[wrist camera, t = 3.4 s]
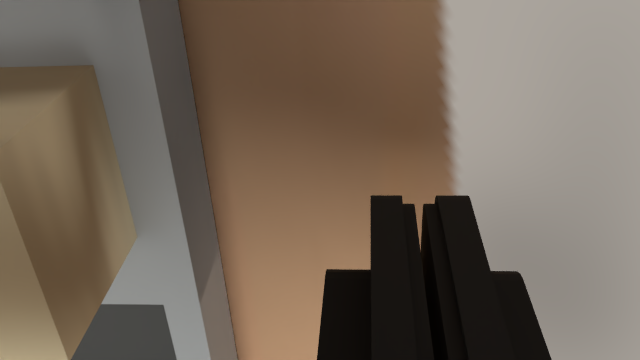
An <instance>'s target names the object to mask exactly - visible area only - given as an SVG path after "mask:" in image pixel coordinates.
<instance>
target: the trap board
mask: <svg viewBox="0 0 640 360" xmlns="http://www.w3.org/2000/svg"><path fill="white" fill-rule="evenodd" d="M80 65H94V69H95V73H96V77H97V81H98V85H99V89H100V92H101V96H102V100H103V104H104V108H105V112H106V116H107V120H108V124H109V128H110V132H111V136H112V140H113V144H114V148H115V151H116V155H117V159H118V163H119V167H120V171H121V175H122V179H123V183H124V187H125V191H126V195H127V199H128V203H129V207H130V210H131V214H132V218H133V222H134V226H135V230H136V234H137V239H136V241H135V243H134V244H133V246H132V248H131V250H130V252H129V254H128V255H127V257H126V259H125V261H124V263H123V265H122V266H121V268H120V270H119V272H118V274H117V276H116V277H115V279H114V281H113V283H112V285H111V287H110V288H109V290H108V292H107V294H106V296H105V298H104V300H103V301H102V303H101V305H100V307H99V309H98V311H97V312H96V314H95V316H94V318H93V320H92V322H91V323H90V325H89V327H88V329H87V331H86V333H85V334H84V336H83V338H82V340H81V342H80V344H79V345H78V347H77V349H76V351H75V353H74V355H73V356H72V358H71V360H238V358H237V352H236V346H235V340H234V334H233V328H232V322H231V316H230V310H229V304H228V298H227V292H226V286H225V280H224V274H223V268H222V262H221V256H220V250H219V244H218V238H217V232H216V226H215V220H214V214H213V208H212V202H211V196H210V190H209V184H208V178H207V172H206V166H205V160H204V154H203V148H202V142H201V136H200V130H199V124H198V118H197V112H196V106H195V100H194V94H193V88H192V82H191V76H190V70H189V64H188V58H187V52H186V46H185V40H184V34H183V28H182V23H181V17H180V11H179V5H178V0H0V67H36V66H80Z"/></svg>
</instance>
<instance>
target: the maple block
mask: <svg viewBox="0 0 640 360" xmlns="http://www.w3.org/2000/svg"><path fill="white" fill-rule="evenodd" d="M136 239H137V234H136V230H135V226H134V222H133V218H132V214H131V210H130V207H129V203H128V199H127V195H126V191H125V187H124V183H123V179H122V175H121V171H120V167H119V163H118V159H117V155H116V151H115V148H114V144H113V140H112V136H111V132H110V128H109V124H108V120H107V116H106V112H105V108H104V104H103V100H102V96H101V92H100V89H99V85H98V81H97V77H96V73H95V69H94V65H80V66H36V67H0V360H71V358H72V356H73V355H74V353H75V351H76V349H77V347H78V345H79V344H80V342H81V340H82V338H83V336H84V334H85V333H86V331H87V329H88V327H89V325H90V323H91V322H92V320H93V318H94V316H95V314H96V312H97V311H98V309H99V307H100V305H101V303H102V301H103V300H104V298H105V296H106V294H107V292H108V290H109V288H110V287H111V285H112V283H113V281H114V279H115V277H116V276H117V274H118V272H119V270H120V268H121V266H122V265H123V263H124V261H125V259H126V257H127V255H128V254H129V252H130V250H131V248H132V246H133V244H134V243H135V241H136Z"/></svg>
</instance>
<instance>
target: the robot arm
mask: <svg viewBox="0 0 640 360" xmlns="http://www.w3.org/2000/svg"><path fill="white" fill-rule="evenodd" d="M317 360H551V357H550V354H549V351H548V349H547V346H546V343H545V340H544V337H543V335H542V332H541V329H540V326H539V323H538V320H537V317H536V315H535V312H534V309H533V306H532V303H531V301H530V298H529V295H528V292H527V289H526V286H525V284H524V281H523V278H522V276H521V274H520V273H518V272H516V271H515V272H514V271H513V272H512V271H490V268H489V264H488V260H487V257H486V254H485V250H484V246H483V243H482V239H481V236H480V233H479V229H478V225H477V222H476V219H475V215H474V211H473V208H472V204H471V201H470V198H469V196H436V197H435V204H424V205H423V217H422V236H421V252H420V245H419V237H418V229H417V221H416V213H415V206H414V204H403V202H402V196H371V270H339V269H327V270H326V275H325V284H324V294H323V304H322V315H321V325H320V335H319V345H318V355H317Z"/></svg>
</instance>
